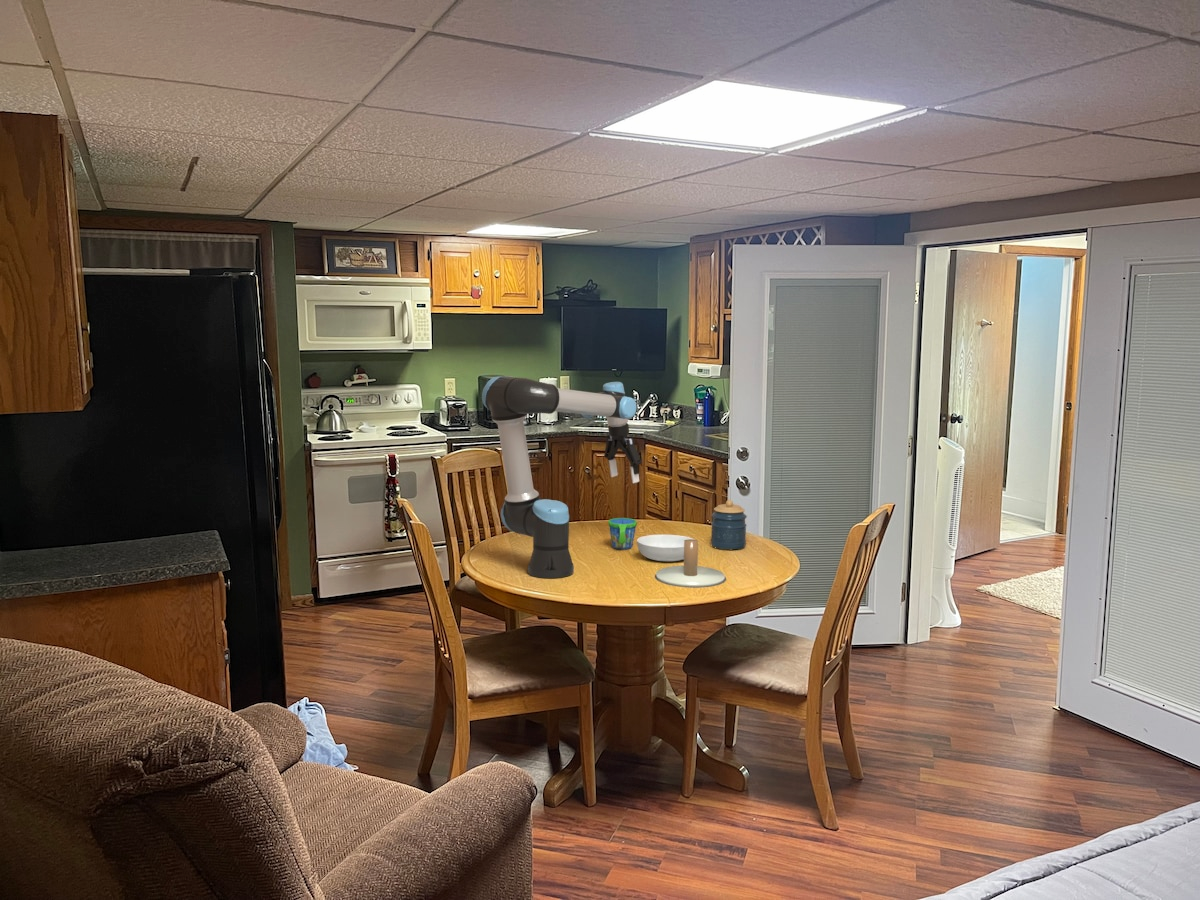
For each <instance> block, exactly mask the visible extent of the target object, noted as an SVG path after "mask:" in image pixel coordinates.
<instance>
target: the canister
mask: <svg viewBox="0 0 1200 900" xmlns="http://www.w3.org/2000/svg"><path fill="white" fill-rule="evenodd" d="M713 510H714V512H713V513H711V517H712V522H711V523H710V525H711V539H710V544H711V545H712V546H713V547H712V546H711V547H712V548H714V547H716V548H715V549H717V548H720V549H719V550H721V549H740V550H742V549H741V548H743V549H745V548H746V544H747V543H746V542H747V541H746V540H747V539H746V537H747V523H746V519H747V517H748V515H746V514H745V513H744V512H745V511H746V510H745V508H743V507H742V506H741V505H739V504H738V505H737V504H734V502H733V501H732V500H731V499H727V500H726V502H725V503H724V504H722V503H721V504H718V505H717V506H715V507H714V508H713ZM744 547H745V548H744Z"/></svg>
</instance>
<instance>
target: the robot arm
mask: <svg viewBox="0 0 1200 900" xmlns="http://www.w3.org/2000/svg"><path fill="white" fill-rule="evenodd" d="M481 400H482V404H483V405H484V407H485V408H486V409H487V410H489V411H490V413H491V414H490V415H491V420H492V422H494V423H495V424H496V425H497V428H498V429H497V430H498V435H499V441H500V448H501V455H502V461H503V468H504V473H505V480H506V487H507V494H506V495H505V497H504V502H503V504H502V507H501V508H500V509H501V510H500V518H501V521H502V524H503V525H504V526H505V528H506V529H507V530H509V531H511V532H512V533H513V532H514V533H515V534H519V535H524V536H528V537H532V552H531V557H530V558H529V559H530V560H529V563H528V565H527V573H529V574H528V575H530V576H532V577H534V578H540V579H560V578H561V579H562V578H566V577H569V576H571V575H573V574H575V573H574V572H575V570H574V569H575V568H574V563H573V560H572V556H571V553H570V549H569V547H570V546H569V543H570V542H569V541H570V540H569V539H570V513H569V507H568V505H567V504H566V503H564V502H563V501H559V500H556V499H554V500H552V499H548V498H547V499H541V498H540V493H539V491H538V490H536V489H535V488H534V483H533V477H532V470H531V462H530V457H529V450H528V449H529V448H528V442H527V437H526V428H525V423H524V421H525V419H526V418H527V416H528V415H533V414H548V415H550V414H553V413H555V412H558V413H567V414H568V413H569V414H578V415H581V416H582V417H583V418H585V419H589V418H594V417H599V416H600V417H605V418H606V420H607V425H608V427H607V430H608V434H607V435H606V444H605V448H604V449H605V450H604V456H603V457H604V458H606V459H607V461H608V467H609V472H610V473H609V474H610V477H611V478H614V477H617V476H618V475H619V474H618V464H617V460H616V454H617V452H618V450H621V451H622V452H623V453H624V454H625V456H626V458H627V460H628V462H629V463H630V466H629V469H630V474H631V482H632V484H637V483H639V482H640V476H639V475H640V474H639V465H641V464H642V460H641V458H640V455H639V453H638V450H637V448H636V444H635V441H634V438H633V437H632V438H631V437H630V438H628V435H629V434H630V427H629V423H628V422H629V420H628V419H631V418H634V416H635V414H636V413H637V403H636V400H635V399H634V398H632V397H631V396H626V392H625V387H624V384H623V382H621V381H611V382H606V383H604V384H603V386H602V391H600V392H591V391H583V390H574V389H567V388H561V387H560V388H559V387H557V386H556V384H553V383H547V382H542V381H538V380H535V379H531V378H527V377H514V376H507V375H503V376H494V377H493V378H491V379H489V380H488V381H487V382H486V384H485V386H483V389H482V394H481Z"/></svg>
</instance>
